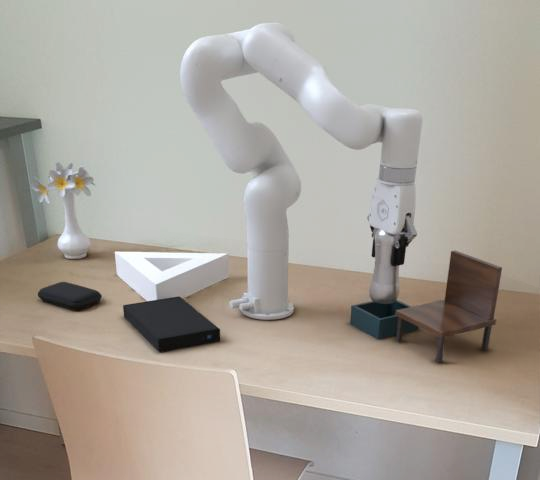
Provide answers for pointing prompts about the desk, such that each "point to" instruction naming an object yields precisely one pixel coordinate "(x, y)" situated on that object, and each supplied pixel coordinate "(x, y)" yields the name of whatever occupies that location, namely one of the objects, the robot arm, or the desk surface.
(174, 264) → the triangle block
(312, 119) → the robot arm
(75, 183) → the flower vase
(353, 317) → the rectangular frame
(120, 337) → the desk surface
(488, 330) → the chair
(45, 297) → the carrying case
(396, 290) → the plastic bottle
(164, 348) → the external hard drive
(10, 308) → the desk surface
